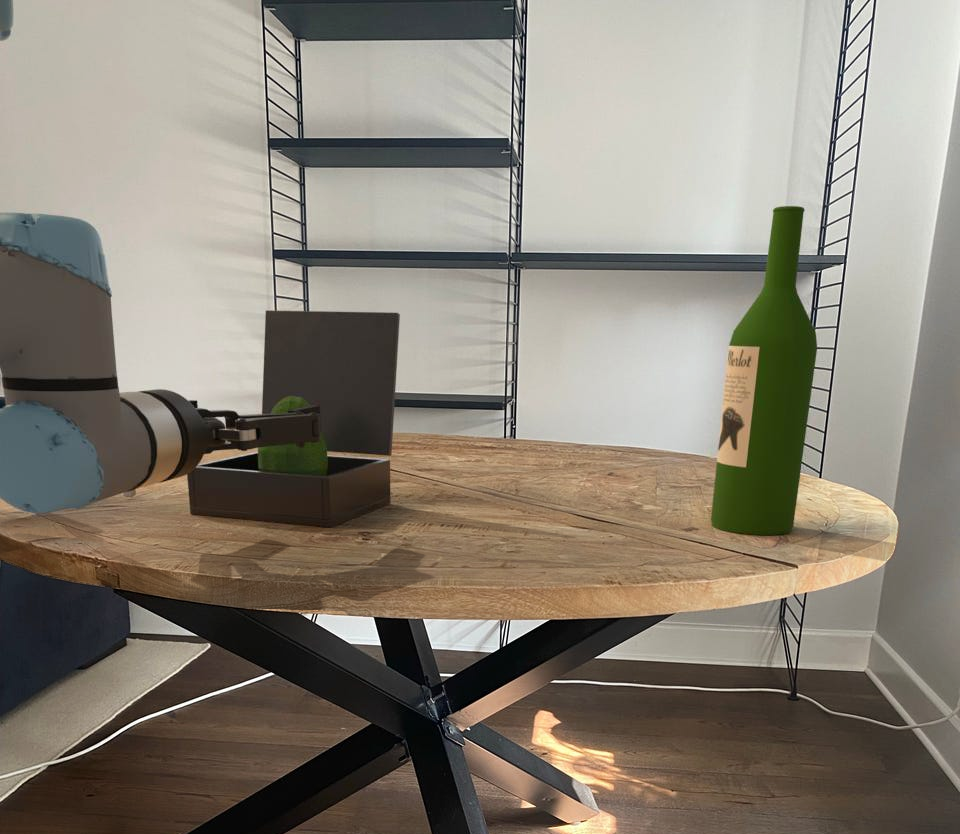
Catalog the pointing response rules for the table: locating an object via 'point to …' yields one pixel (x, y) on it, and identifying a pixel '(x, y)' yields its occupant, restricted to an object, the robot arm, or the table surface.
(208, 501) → the tin
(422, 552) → the table surface
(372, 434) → the tin lid
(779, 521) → the wine bottle
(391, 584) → the table surface
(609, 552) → the table surface
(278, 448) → the avocado
